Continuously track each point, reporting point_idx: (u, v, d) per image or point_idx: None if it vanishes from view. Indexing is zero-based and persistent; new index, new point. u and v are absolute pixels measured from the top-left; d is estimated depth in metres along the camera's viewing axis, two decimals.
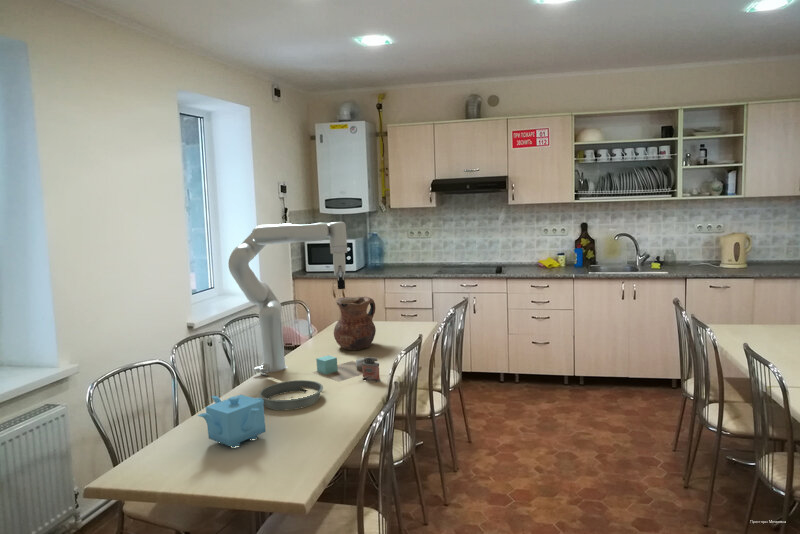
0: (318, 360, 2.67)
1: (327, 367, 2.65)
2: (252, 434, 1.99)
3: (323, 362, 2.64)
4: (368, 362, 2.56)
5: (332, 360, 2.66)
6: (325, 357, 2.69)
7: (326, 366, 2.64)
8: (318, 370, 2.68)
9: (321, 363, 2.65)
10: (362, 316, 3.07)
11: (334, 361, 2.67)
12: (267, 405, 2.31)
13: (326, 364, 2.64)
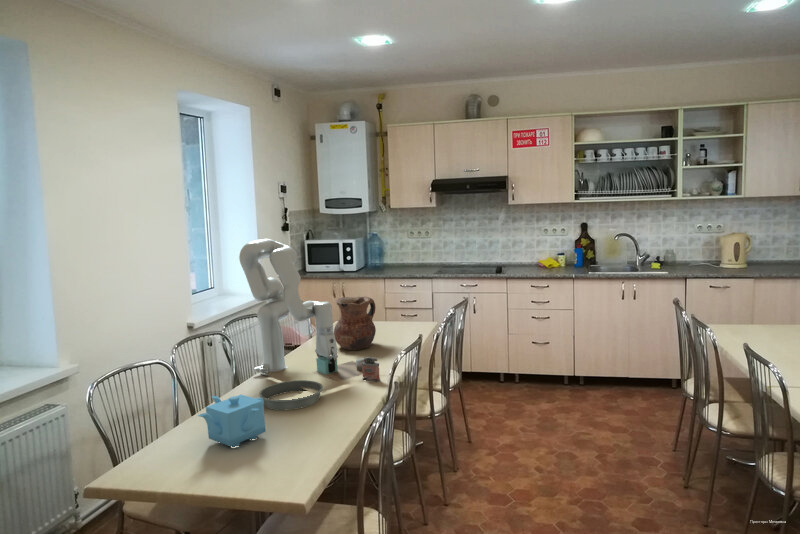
0: (318, 360, 2.67)
1: (327, 367, 2.65)
2: (252, 434, 1.99)
3: (323, 362, 2.64)
4: (368, 362, 2.56)
5: None
6: (325, 357, 2.69)
7: (326, 366, 2.64)
8: (318, 370, 2.68)
9: (321, 363, 2.65)
10: (362, 316, 3.07)
11: None
12: (267, 405, 2.31)
13: (326, 364, 2.64)
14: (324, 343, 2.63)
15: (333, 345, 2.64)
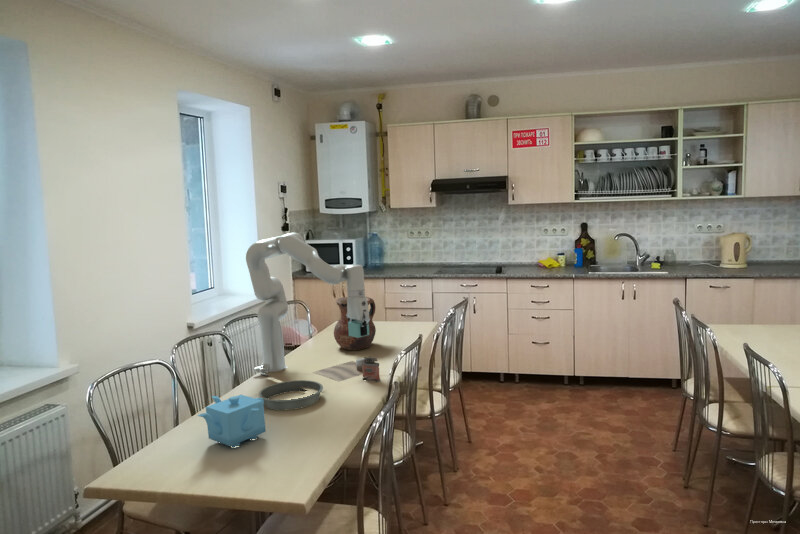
0: (350, 324, 2.65)
1: (359, 330, 2.62)
2: (252, 434, 1.99)
3: (355, 325, 2.62)
4: (368, 362, 2.56)
5: None
6: (356, 321, 2.67)
7: (358, 329, 2.62)
8: (350, 334, 2.66)
9: (353, 326, 2.63)
10: None
11: None
12: (267, 405, 2.31)
13: (358, 327, 2.62)
14: (356, 306, 2.61)
15: (365, 308, 2.61)
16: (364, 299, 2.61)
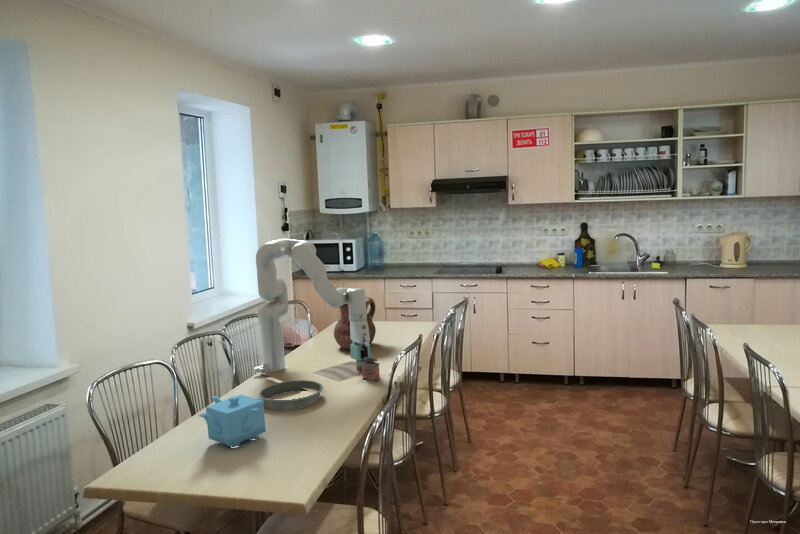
0: (351, 346, 2.67)
1: (359, 353, 2.63)
2: (252, 434, 1.99)
3: (355, 348, 2.63)
4: (368, 362, 2.56)
5: None
6: None
7: (358, 352, 2.63)
8: (351, 356, 2.68)
9: (354, 349, 2.65)
10: None
11: None
12: (267, 405, 2.31)
13: (358, 350, 2.63)
14: (357, 329, 2.62)
15: (365, 332, 2.62)
16: (364, 323, 2.62)
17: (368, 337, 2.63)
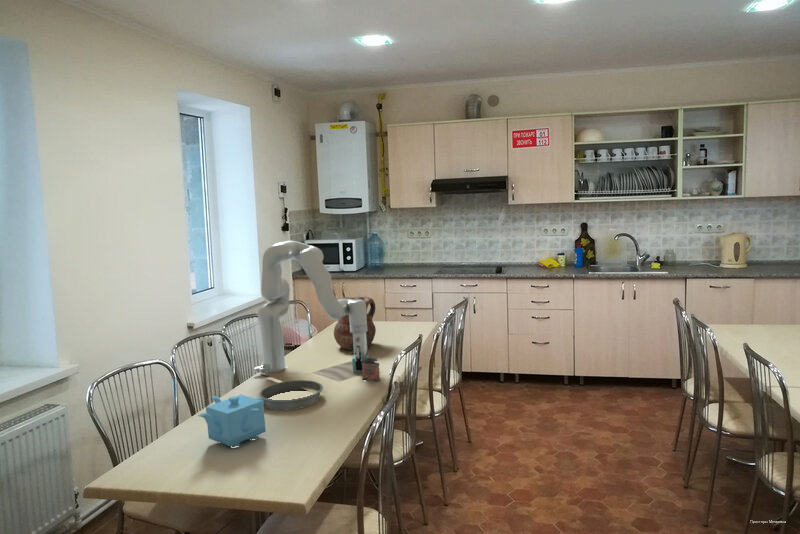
0: None
1: (355, 365, 2.65)
2: (252, 434, 1.99)
3: (352, 359, 2.66)
4: (368, 362, 2.56)
5: None
6: None
7: (354, 364, 2.65)
8: None
9: None
10: None
11: (364, 361, 2.64)
12: (267, 405, 2.31)
13: (354, 362, 2.65)
14: None
15: (359, 344, 2.62)
16: (359, 335, 2.62)
17: (362, 350, 2.62)
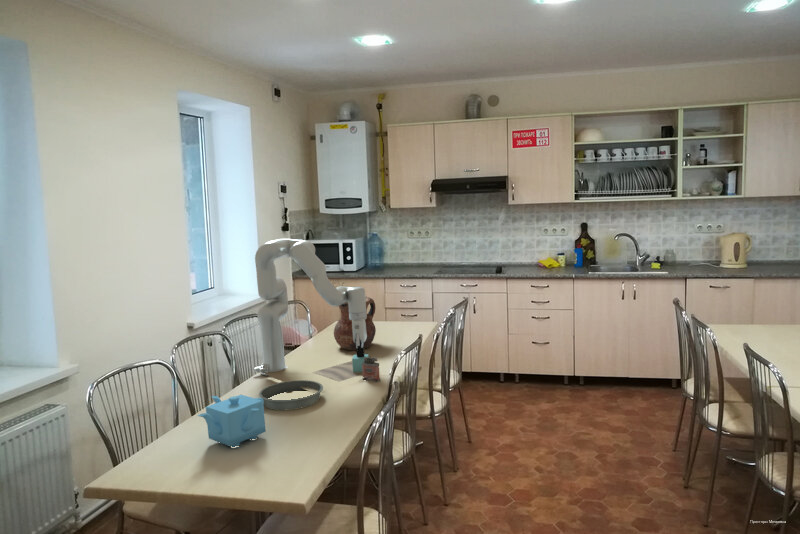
0: None
1: (355, 365, 2.65)
2: (252, 434, 1.99)
3: (352, 359, 2.66)
4: (368, 362, 2.56)
5: (361, 360, 2.64)
6: None
7: (354, 364, 2.65)
8: None
9: None
10: None
11: (364, 361, 2.64)
12: (267, 405, 2.31)
13: (354, 362, 2.65)
14: (352, 328, 2.63)
15: (358, 331, 2.61)
16: (358, 322, 2.61)
17: (361, 337, 2.61)
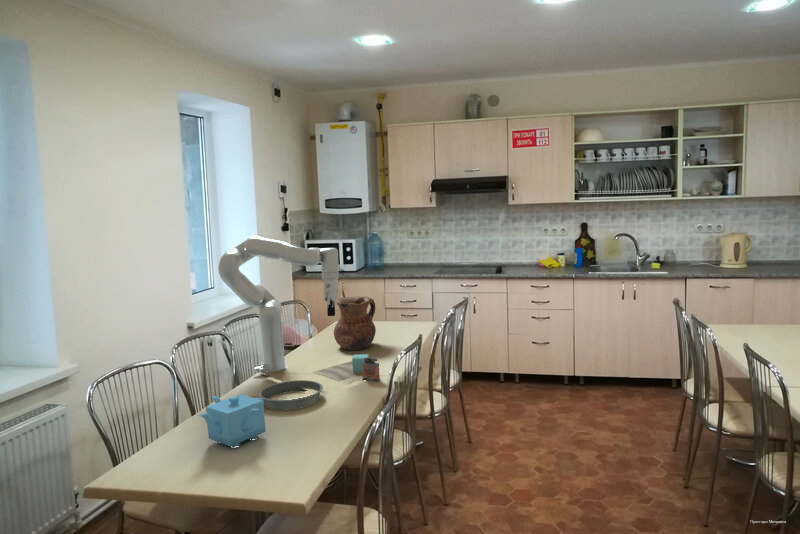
0: None
1: (355, 365, 2.65)
2: (252, 434, 1.99)
3: (352, 359, 2.66)
4: (368, 362, 2.56)
5: (361, 360, 2.64)
6: (361, 355, 2.69)
7: (354, 364, 2.65)
8: None
9: None
10: (362, 316, 3.07)
11: (364, 361, 2.64)
12: (267, 405, 2.31)
13: (354, 362, 2.65)
14: None
15: (329, 290, 2.70)
16: (329, 282, 2.70)
17: (332, 296, 2.71)
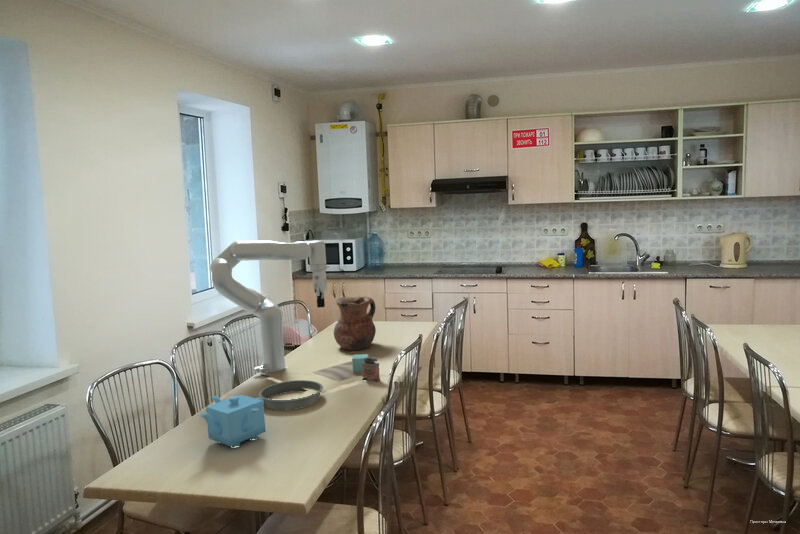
0: None
1: (355, 365, 2.65)
2: (252, 434, 1.99)
3: (352, 359, 2.66)
4: (368, 362, 2.56)
5: (361, 360, 2.64)
6: (361, 355, 2.69)
7: (354, 364, 2.65)
8: None
9: None
10: (362, 316, 3.07)
11: (364, 361, 2.64)
12: (267, 405, 2.31)
13: (354, 362, 2.65)
14: None
15: (318, 282, 2.76)
16: (318, 273, 2.76)
17: (321, 287, 2.76)
